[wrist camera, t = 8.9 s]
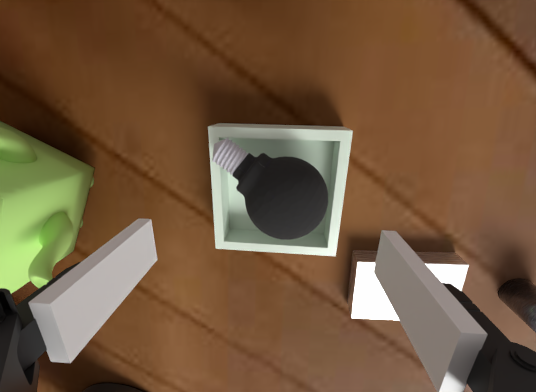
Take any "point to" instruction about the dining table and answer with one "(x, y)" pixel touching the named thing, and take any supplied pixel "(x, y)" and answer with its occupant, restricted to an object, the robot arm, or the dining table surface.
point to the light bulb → (276, 190)
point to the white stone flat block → (371, 293)
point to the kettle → (37, 207)
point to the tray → (276, 145)
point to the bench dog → (520, 299)
